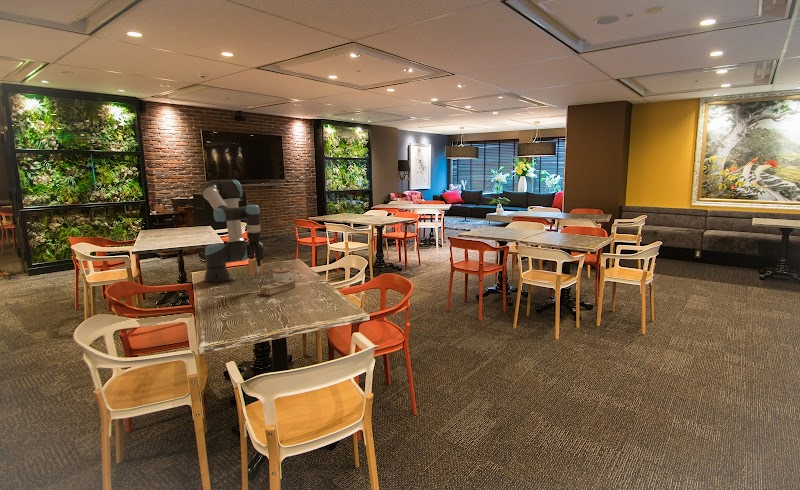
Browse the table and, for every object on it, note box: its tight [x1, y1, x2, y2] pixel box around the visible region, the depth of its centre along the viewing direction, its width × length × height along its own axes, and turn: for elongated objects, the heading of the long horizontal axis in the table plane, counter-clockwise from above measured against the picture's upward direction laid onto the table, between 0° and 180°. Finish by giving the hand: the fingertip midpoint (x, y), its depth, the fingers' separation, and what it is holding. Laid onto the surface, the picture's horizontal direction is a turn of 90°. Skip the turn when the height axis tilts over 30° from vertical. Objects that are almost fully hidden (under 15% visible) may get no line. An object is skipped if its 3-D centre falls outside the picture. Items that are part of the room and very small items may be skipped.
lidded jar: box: [272, 266, 291, 282], centre depth 270 cm, size 11×11×9 cm
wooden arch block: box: [247, 257, 264, 276], centre depth 251 cm, size 3×8×9 cm, turn 150°
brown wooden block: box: [259, 279, 296, 296], centre depth 251 cm, size 8×20×4 cm, turn 150°
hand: (255, 270), depth 251 cm, fingers closed on wooden arch block, 3 cm apart
